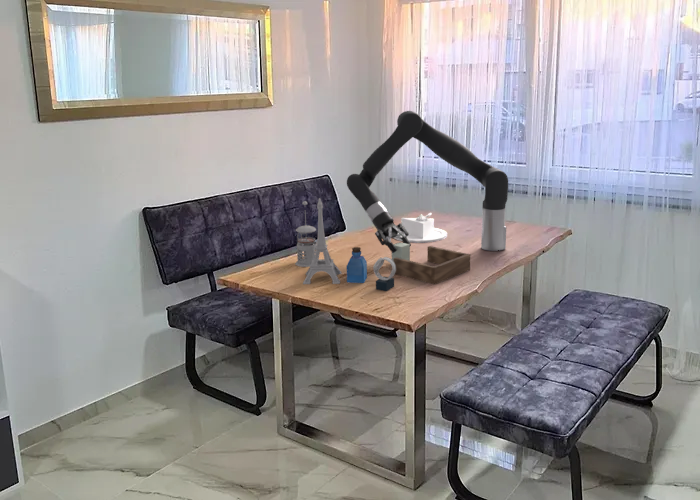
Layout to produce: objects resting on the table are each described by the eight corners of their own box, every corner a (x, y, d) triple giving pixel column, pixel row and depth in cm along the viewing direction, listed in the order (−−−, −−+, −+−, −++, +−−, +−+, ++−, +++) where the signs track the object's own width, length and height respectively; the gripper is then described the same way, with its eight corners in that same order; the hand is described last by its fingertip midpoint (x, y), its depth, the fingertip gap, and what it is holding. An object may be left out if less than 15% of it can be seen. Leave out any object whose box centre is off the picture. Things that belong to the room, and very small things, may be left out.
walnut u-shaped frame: (470, 269, 254) (470, 254, 252) (434, 284, 239) (434, 268, 237) (429, 260, 267) (429, 245, 265) (393, 273, 252) (393, 258, 250)
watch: (378, 284, 241) (378, 254, 238) (398, 287, 237) (398, 257, 234) (370, 288, 236) (370, 258, 233) (391, 292, 232) (391, 261, 229)
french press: (301, 268, 261) (298, 205, 254) (289, 260, 271) (286, 199, 264) (323, 264, 266) (321, 202, 259) (311, 257, 275) (309, 197, 269)
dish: (455, 232, 308) (456, 208, 305) (432, 246, 288) (432, 220, 285) (408, 227, 321) (408, 203, 318) (381, 239, 301) (381, 214, 298)
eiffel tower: (306, 273, 256) (302, 195, 247) (341, 272, 255) (339, 194, 247) (302, 284, 243) (299, 202, 235) (339, 284, 242) (337, 202, 234)
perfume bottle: (363, 283, 242) (363, 251, 239) (347, 282, 244) (346, 250, 240) (366, 277, 248) (366, 246, 245) (350, 277, 249) (349, 245, 246)
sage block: (409, 264, 263) (409, 244, 261) (401, 267, 260) (401, 247, 257) (399, 261, 266) (399, 242, 264) (391, 264, 263) (391, 244, 261)
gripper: (372, 213, 258) (395, 247, 254) (396, 207, 268) (419, 240, 263) (362, 225, 263) (385, 258, 259) (386, 218, 273) (408, 250, 268)
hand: (402, 249), depth 261 cm, fingers open, 8 cm apart
